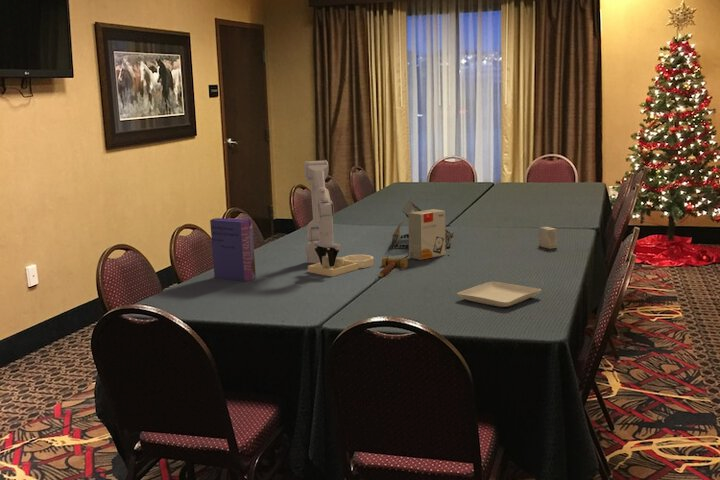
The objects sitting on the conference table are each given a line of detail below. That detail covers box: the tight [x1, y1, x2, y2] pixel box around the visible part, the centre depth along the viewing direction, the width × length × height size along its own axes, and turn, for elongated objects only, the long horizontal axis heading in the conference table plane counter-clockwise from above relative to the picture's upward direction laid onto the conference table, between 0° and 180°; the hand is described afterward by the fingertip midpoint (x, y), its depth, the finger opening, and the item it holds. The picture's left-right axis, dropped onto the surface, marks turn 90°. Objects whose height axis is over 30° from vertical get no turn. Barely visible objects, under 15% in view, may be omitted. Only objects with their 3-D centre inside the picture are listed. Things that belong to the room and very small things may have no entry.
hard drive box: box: [408, 208, 446, 261], centre depth 341 cm, size 16×8×20 cm, turn 129°
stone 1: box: [322, 256, 333, 269], centre depth 317 cm, size 4×4×4 cm
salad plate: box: [456, 281, 542, 308], centre depth 270 cm, size 21×21×3 cm
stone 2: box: [333, 256, 344, 269], centre depth 322 cm, size 4×4×4 cm
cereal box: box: [209, 217, 257, 283], centre depth 313 cm, size 17×5×24 cm, turn 59°
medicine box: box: [538, 226, 558, 250], centre depth 351 cm, size 8×4×9 cm, turn 22°
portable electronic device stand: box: [391, 200, 454, 250], centre depth 374 cm, size 33×28×18 cm
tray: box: [307, 261, 359, 277], centre depth 320 cm, size 14×15×3 cm
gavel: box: [378, 256, 408, 278], centre depth 316 cm, size 21×5×10 cm
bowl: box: [342, 254, 375, 269], centre depth 329 cm, size 13×13×4 cm
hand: (327, 265), depth 317 cm, fingers closed on stone 1, 4 cm apart
